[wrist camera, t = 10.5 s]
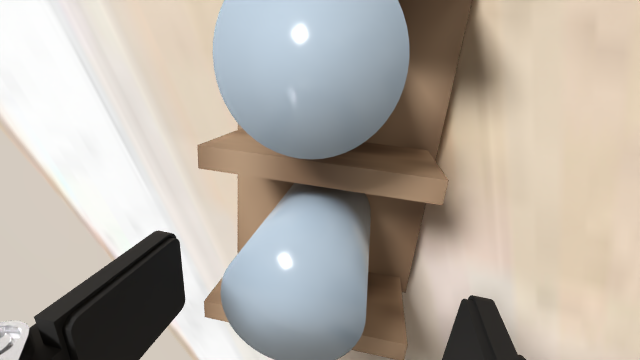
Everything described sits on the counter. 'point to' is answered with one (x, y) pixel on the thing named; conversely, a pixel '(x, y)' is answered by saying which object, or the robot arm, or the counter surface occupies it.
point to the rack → (367, 172)
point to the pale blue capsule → (311, 71)
